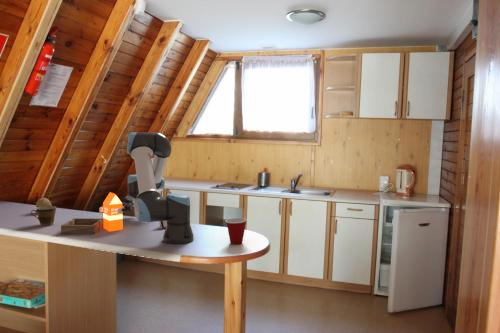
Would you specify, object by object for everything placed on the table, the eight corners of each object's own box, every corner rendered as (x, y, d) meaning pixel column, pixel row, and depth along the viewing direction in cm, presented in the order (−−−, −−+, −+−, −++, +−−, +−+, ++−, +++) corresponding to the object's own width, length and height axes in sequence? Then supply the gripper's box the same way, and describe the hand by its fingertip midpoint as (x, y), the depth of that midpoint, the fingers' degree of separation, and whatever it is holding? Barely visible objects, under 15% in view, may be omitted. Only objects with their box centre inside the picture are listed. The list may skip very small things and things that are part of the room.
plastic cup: (229, 239, 208) (230, 216, 207) (249, 241, 205) (250, 218, 204) (221, 244, 198) (221, 220, 197) (242, 247, 195) (242, 222, 194)
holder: (94, 234, 214) (93, 225, 213) (61, 234, 213) (60, 225, 213) (104, 226, 231) (104, 218, 230) (74, 226, 230) (73, 218, 230)
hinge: (167, 229, 226) (162, 212, 226) (161, 231, 228) (156, 214, 229) (185, 223, 241) (180, 207, 241) (179, 225, 243) (174, 208, 243)
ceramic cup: (54, 222, 239) (54, 205, 238) (58, 225, 231) (57, 208, 230) (29, 224, 231) (29, 207, 230) (32, 228, 223) (31, 210, 222)
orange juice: (109, 231, 219) (108, 194, 217) (103, 228, 226) (102, 192, 224) (123, 229, 224) (122, 193, 222) (117, 226, 231) (116, 191, 229)
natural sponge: (34, 212, 263) (33, 197, 262) (49, 210, 269) (48, 195, 268) (38, 215, 256) (37, 199, 255) (53, 213, 262) (52, 197, 261)
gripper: (145, 210, 241) (128, 218, 219) (109, 208, 244) (89, 216, 222) (145, 197, 240) (128, 204, 218) (109, 196, 243) (89, 203, 221)
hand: (109, 210), depth 220 cm, fingers closed on orange juice, 10 cm apart
